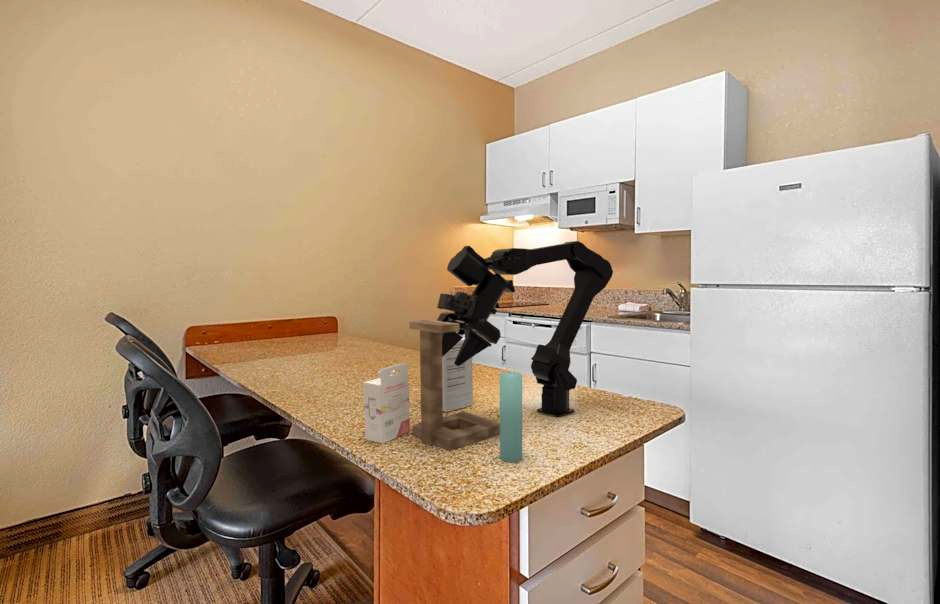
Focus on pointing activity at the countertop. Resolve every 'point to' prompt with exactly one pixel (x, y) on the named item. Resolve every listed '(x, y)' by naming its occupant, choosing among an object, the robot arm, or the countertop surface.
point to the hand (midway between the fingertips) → (446, 361)
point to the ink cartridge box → (387, 405)
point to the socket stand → (432, 421)
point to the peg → (511, 417)
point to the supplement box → (456, 381)
